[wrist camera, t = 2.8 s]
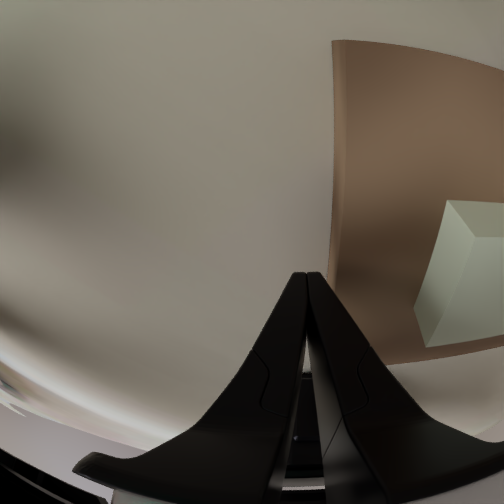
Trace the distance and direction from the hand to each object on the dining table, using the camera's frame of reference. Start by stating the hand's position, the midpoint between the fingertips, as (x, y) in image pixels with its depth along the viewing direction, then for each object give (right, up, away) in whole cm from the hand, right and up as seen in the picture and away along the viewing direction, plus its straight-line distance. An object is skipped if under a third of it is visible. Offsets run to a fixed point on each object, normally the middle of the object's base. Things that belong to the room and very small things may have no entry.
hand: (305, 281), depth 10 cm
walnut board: (+8, +2, +1) cm, 9 cm away
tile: (+7, +1, 0) cm, 7 cm away
